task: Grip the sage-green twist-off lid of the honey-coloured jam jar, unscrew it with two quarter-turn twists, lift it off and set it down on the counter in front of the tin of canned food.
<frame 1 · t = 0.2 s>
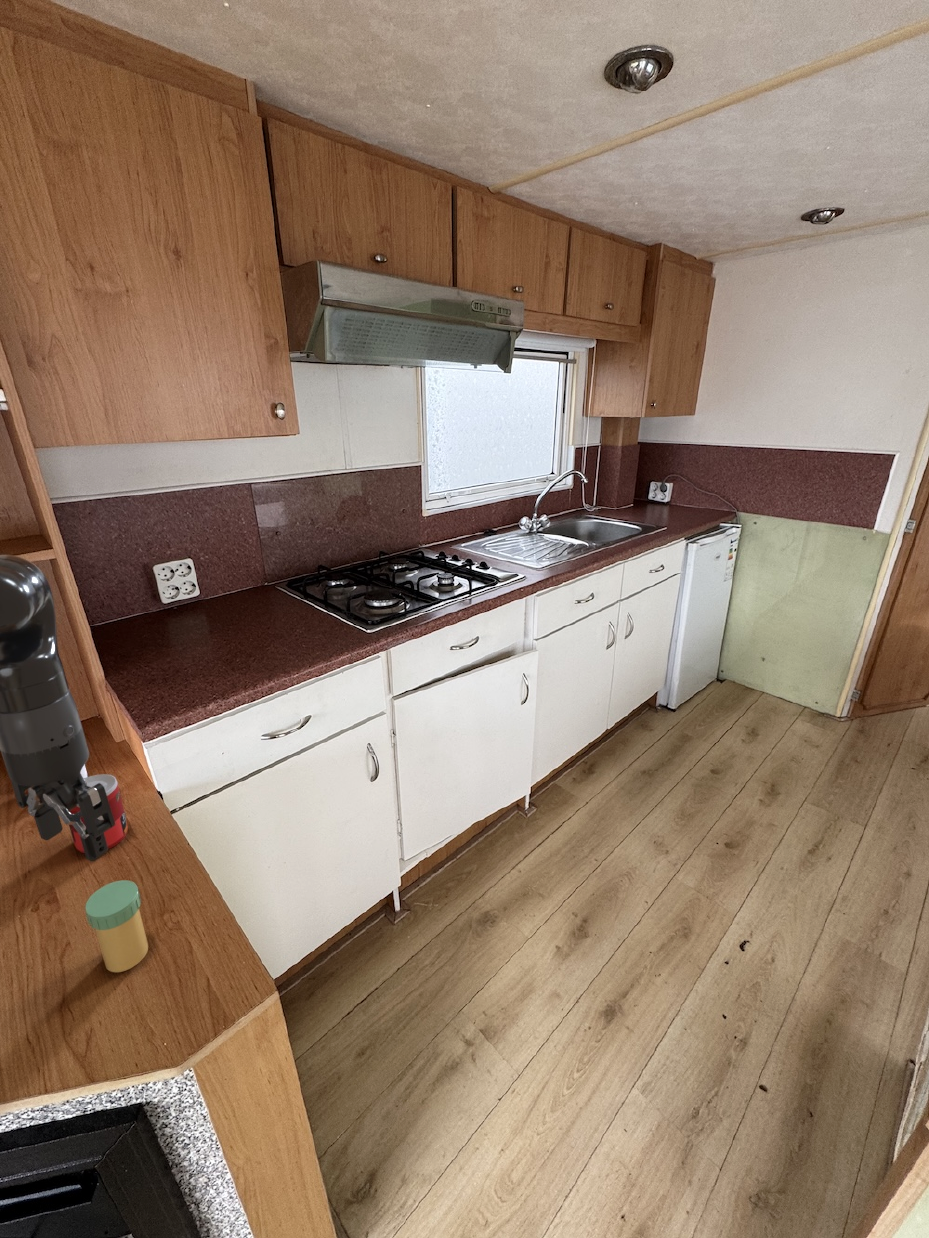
hand: (75, 845, 66), 21 cm above the counter, tool pointing down, fingers open, 8 cm apart
canned food: (103, 839, 96), on the counter
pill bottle: (64, 786, 109), on the counter
lid: (112, 900, 72), point 10 cm above the counter, screwed on, not yet turned
jar: (127, 954, 75), on the counter
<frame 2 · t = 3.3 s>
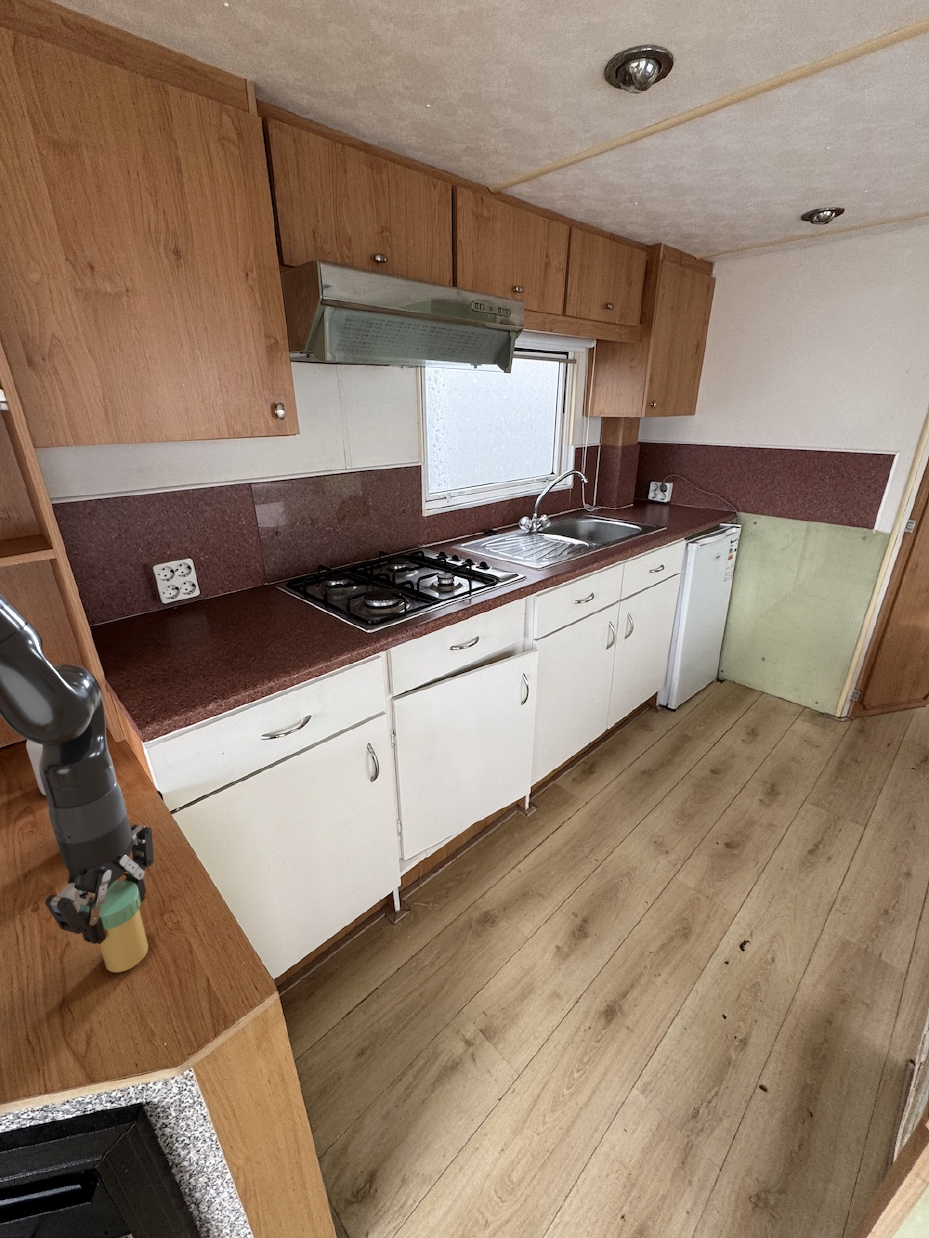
hand: (118, 918, 73), 7 cm above the counter, tool pointing down, fingers closed on lid, 6 cm apart
lid: (112, 900, 72), point 10 cm above the counter, screwed on, not yet turned, touching gripper
everything else where it was.
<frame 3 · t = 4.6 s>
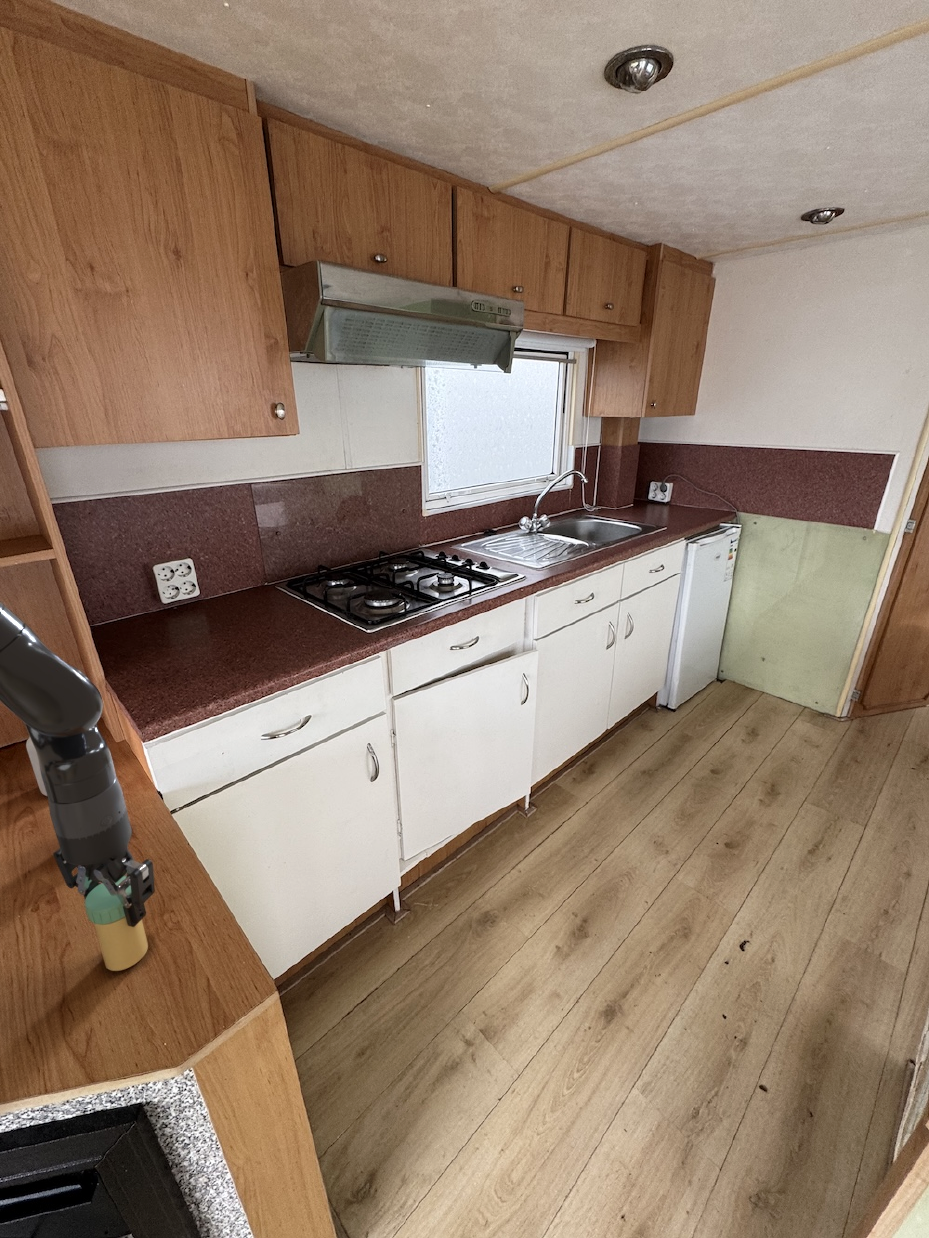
hand: (117, 915, 73), 7 cm above the counter, tool pointing down, fingers closed on lid, 6 cm apart
lid: (111, 894, 72), point 10 cm above the counter, turned 89° so far, risen 0.2 cm, still on its thread, touching gripper
everything else where it was.
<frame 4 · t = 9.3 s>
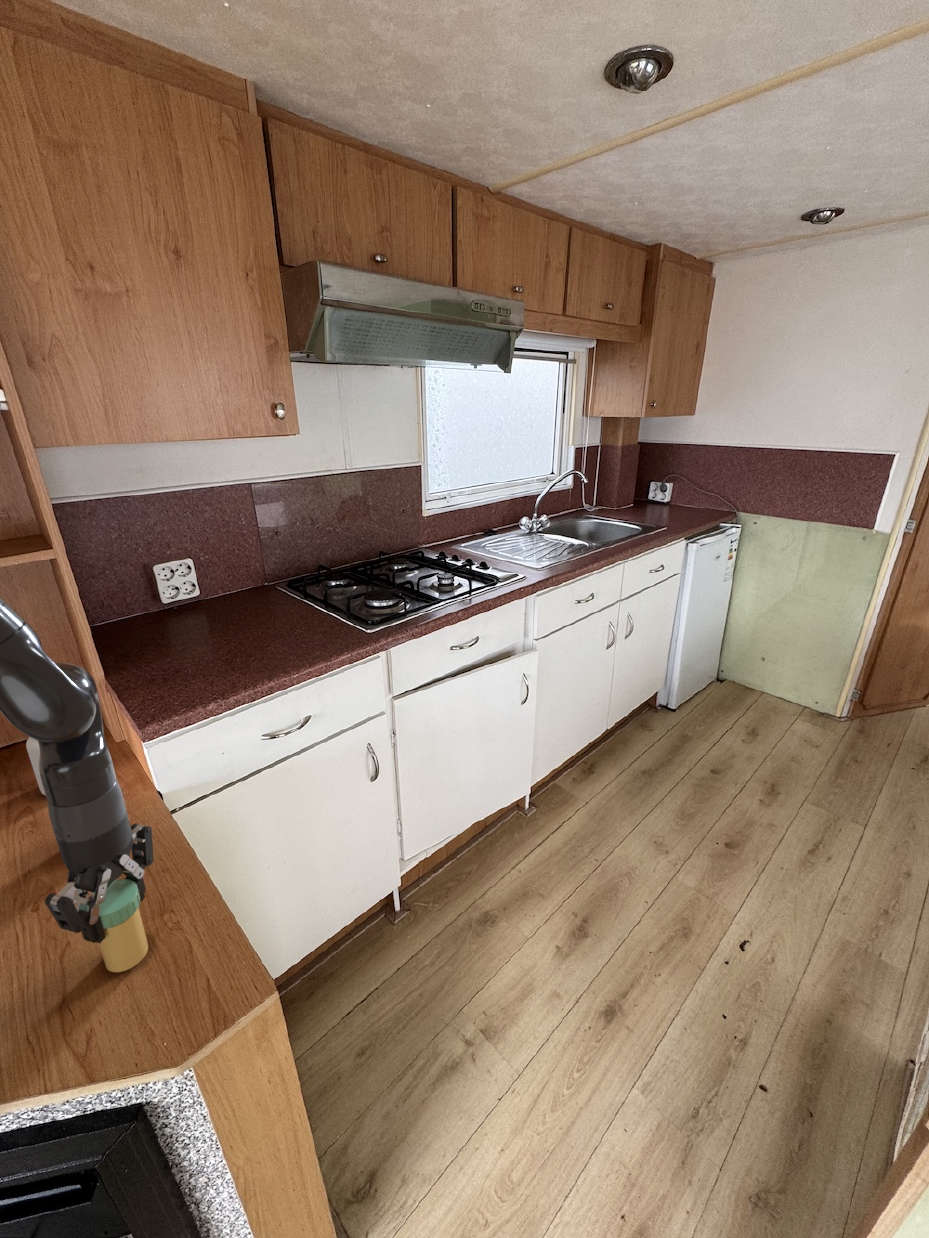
hand: (117, 918, 73), 7 cm above the counter, tool pointing down, fingers closed on lid, 6 cm apart
lid: (112, 898, 72), point 10 cm above the counter, turned 90° so far, risen 0.2 cm, still on its thread, touching gripper
everything else where it was.
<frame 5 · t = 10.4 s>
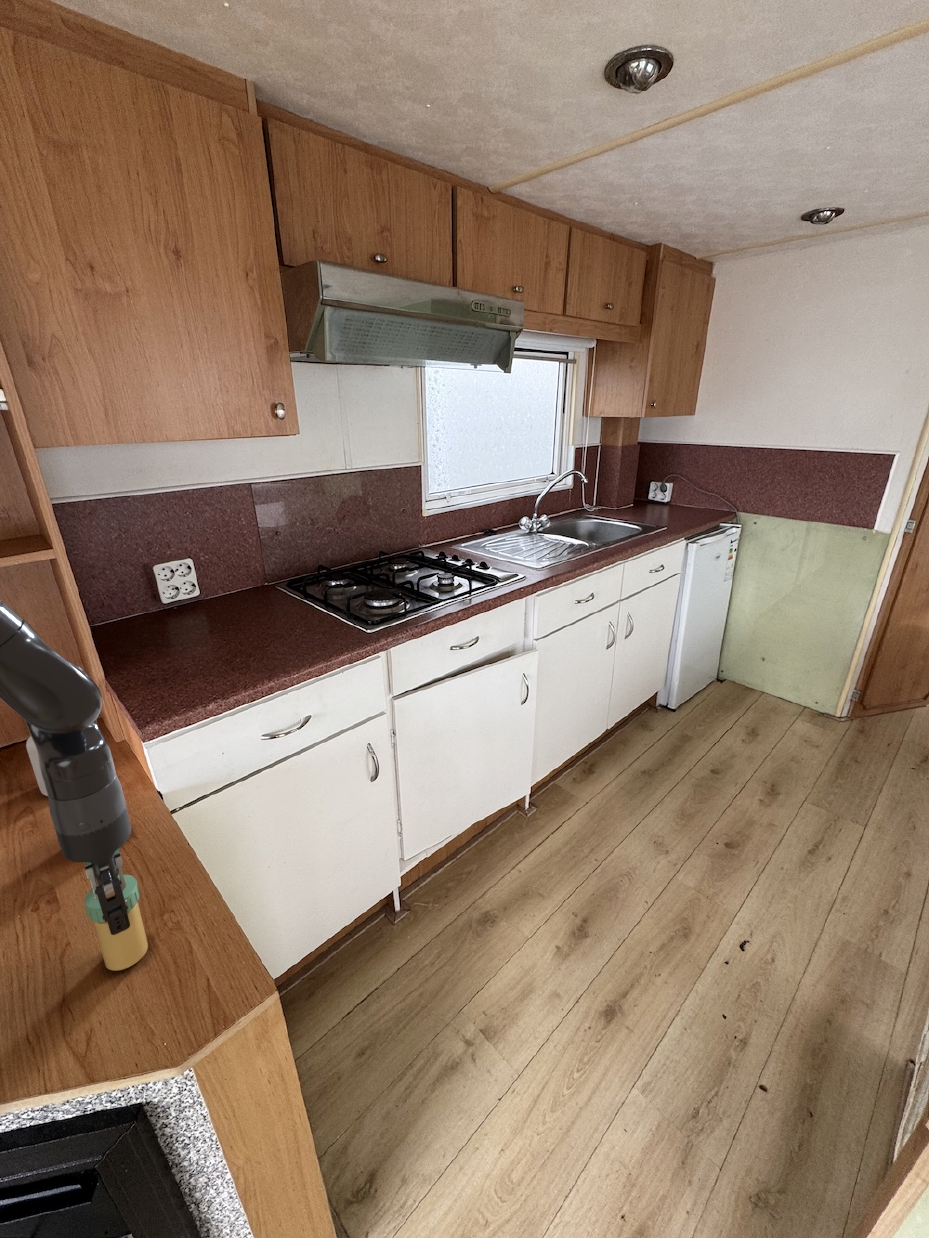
hand: (117, 912, 73), 7 cm above the counter, tool pointing down, fingers closed on lid, 6 cm apart
lid: (111, 893, 72), point 11 cm above the counter, turned 142° so far, risen 0.4 cm, still on its thread, touching gripper
everything else where it was.
when the fingers open (0 cm above the counter, at t = 19.4 s): lid drops 1 cm, point 2 cm above the counter.
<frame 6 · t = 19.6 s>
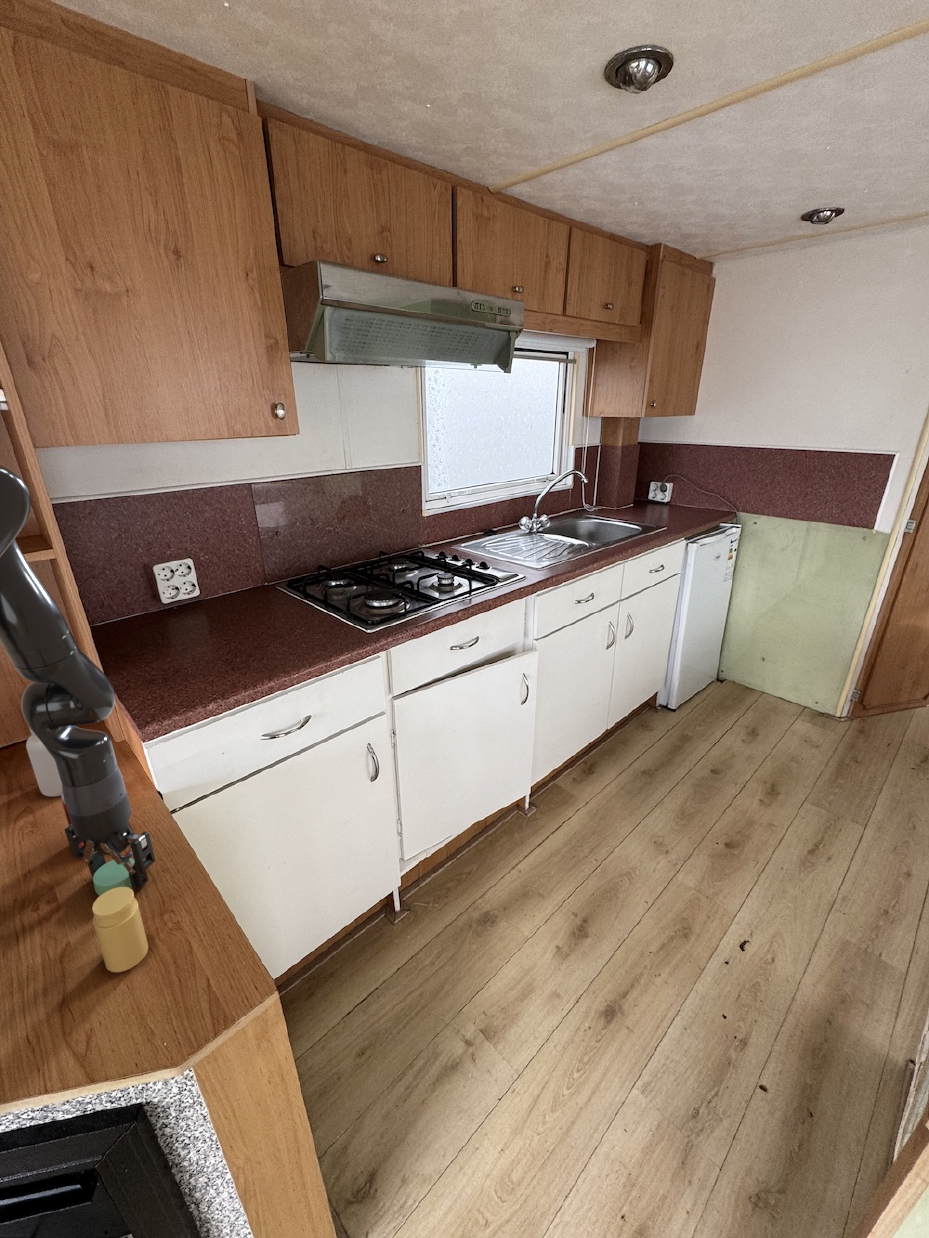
hand: (120, 881, 87), 0 cm above the counter, tool pointing down, fingers open, 7 cm apart
lid: (115, 873, 86), point 2 cm above the counter, off its thread
everything else where it was.
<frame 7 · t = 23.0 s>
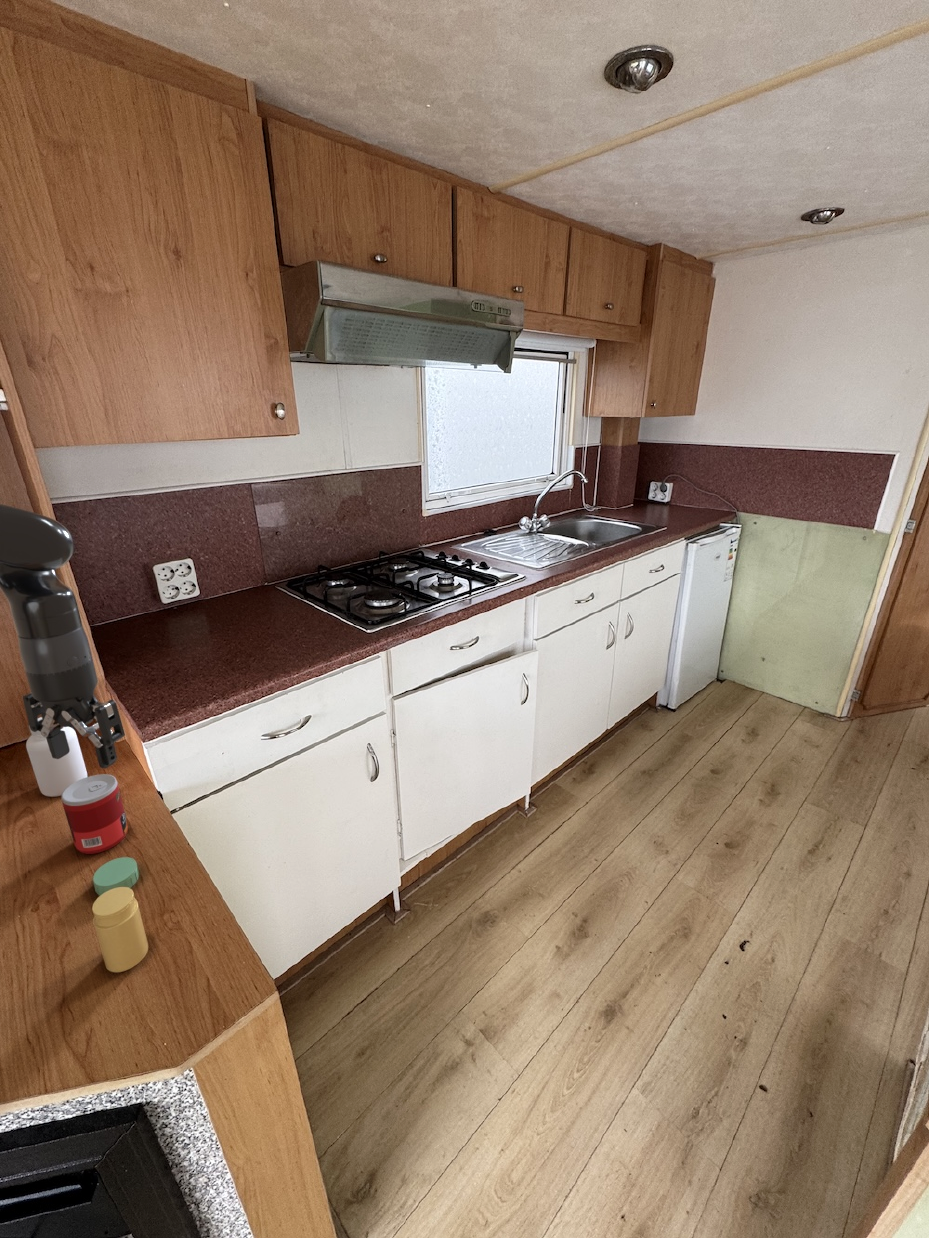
hand: (84, 760, 79), 23 cm above the counter, tool pointing down, fingers open, 8 cm apart
nothing on the counter moved.
at the end: lid inside the target area on the counter beside the canned food (0.4 cm from its centre), point 2.1 cm above the counter; lid point 1.9 cm above the counter; the gripper is holding nothing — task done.
